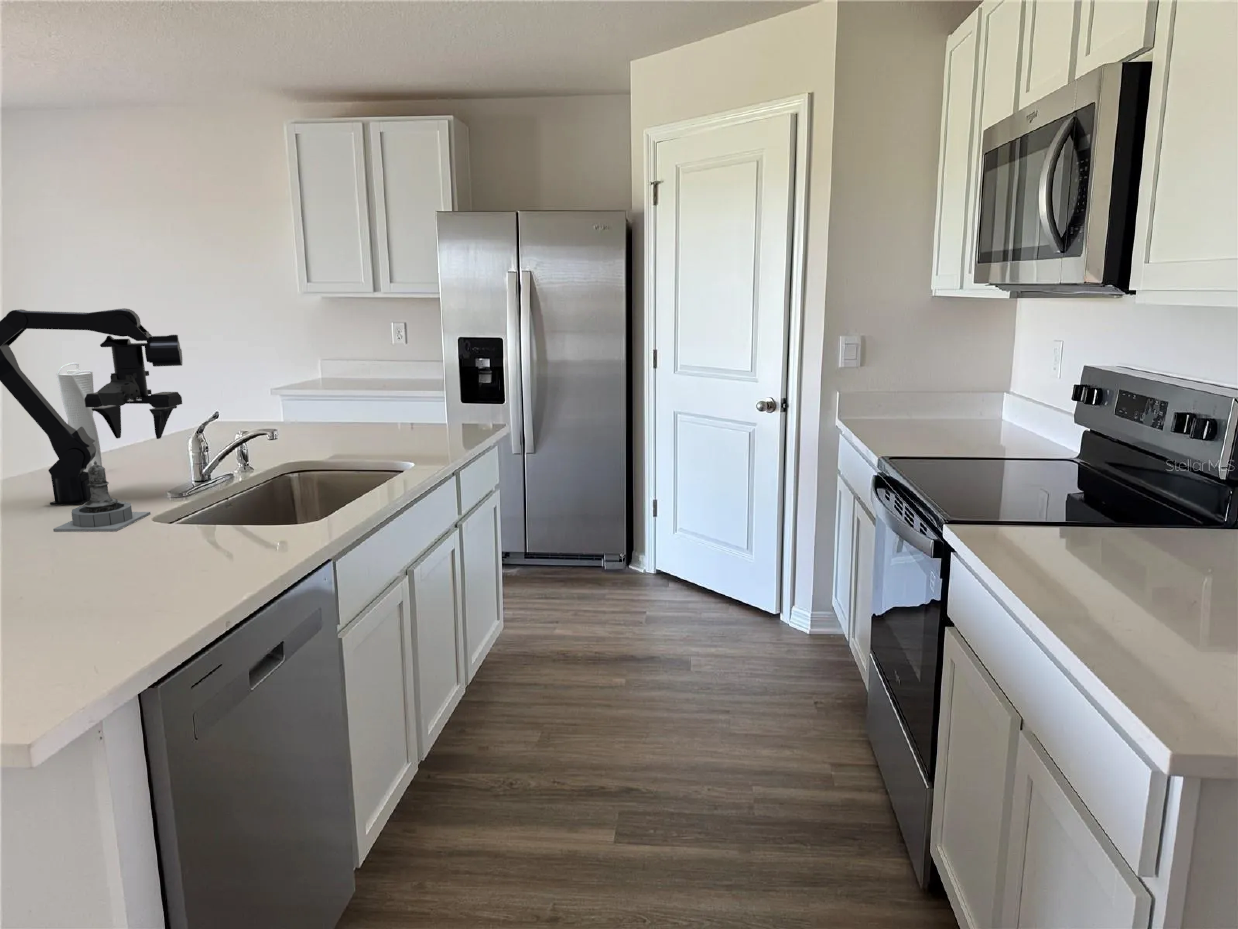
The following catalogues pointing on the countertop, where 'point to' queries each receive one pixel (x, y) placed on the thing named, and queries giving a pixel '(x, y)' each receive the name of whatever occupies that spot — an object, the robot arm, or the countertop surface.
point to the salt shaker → (99, 491)
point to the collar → (102, 519)
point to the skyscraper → (79, 404)
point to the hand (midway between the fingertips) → (138, 438)
